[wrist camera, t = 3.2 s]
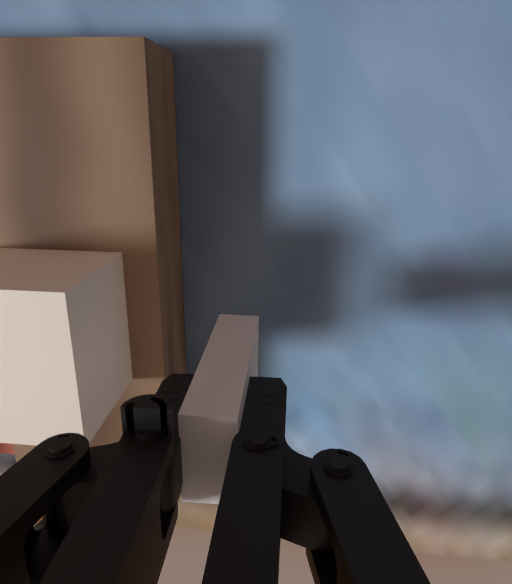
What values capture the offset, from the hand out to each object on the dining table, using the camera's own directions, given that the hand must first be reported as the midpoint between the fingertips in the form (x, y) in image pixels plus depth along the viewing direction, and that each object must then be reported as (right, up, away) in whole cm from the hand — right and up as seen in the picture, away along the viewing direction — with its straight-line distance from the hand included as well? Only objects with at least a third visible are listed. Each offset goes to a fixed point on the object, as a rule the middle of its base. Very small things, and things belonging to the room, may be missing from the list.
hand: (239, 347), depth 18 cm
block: (-8, +1, +3) cm, 9 cm away
